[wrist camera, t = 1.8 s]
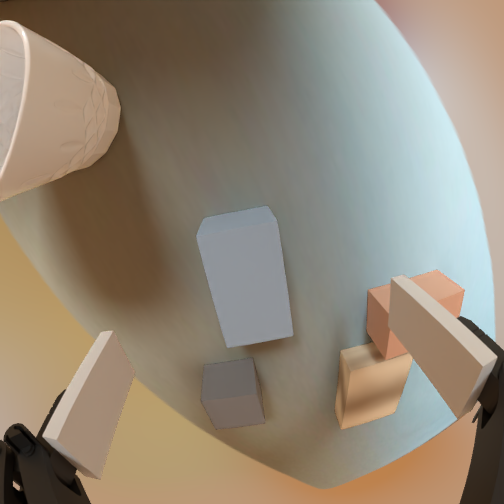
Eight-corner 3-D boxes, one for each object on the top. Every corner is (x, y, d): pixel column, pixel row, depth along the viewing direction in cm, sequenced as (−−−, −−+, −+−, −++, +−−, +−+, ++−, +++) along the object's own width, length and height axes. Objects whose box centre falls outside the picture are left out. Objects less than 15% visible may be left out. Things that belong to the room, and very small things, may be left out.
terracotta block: (365, 329, 21) (385, 360, 18) (367, 288, 20) (391, 316, 16) (430, 308, 21) (455, 331, 18) (436, 268, 20) (464, 289, 16)
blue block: (203, 217, 17) (195, 236, 13) (267, 205, 17) (277, 220, 13) (227, 312, 20) (227, 348, 16) (282, 302, 20) (293, 335, 16)
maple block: (339, 347, 22) (350, 371, 19) (399, 331, 22) (414, 351, 19) (333, 408, 25) (341, 429, 22) (384, 393, 25) (394, 412, 22)
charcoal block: (204, 364, 21) (200, 400, 17) (252, 356, 21) (256, 393, 17) (216, 394, 23) (215, 429, 19) (260, 388, 23) (265, 423, 19)
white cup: (154, 110, 14) (66, 71, 5) (79, 203, 16) (-26, 256, 7) (85, 47, 12) (-6, -1, 3) (21, 135, 14) (-80, 147, 4)
